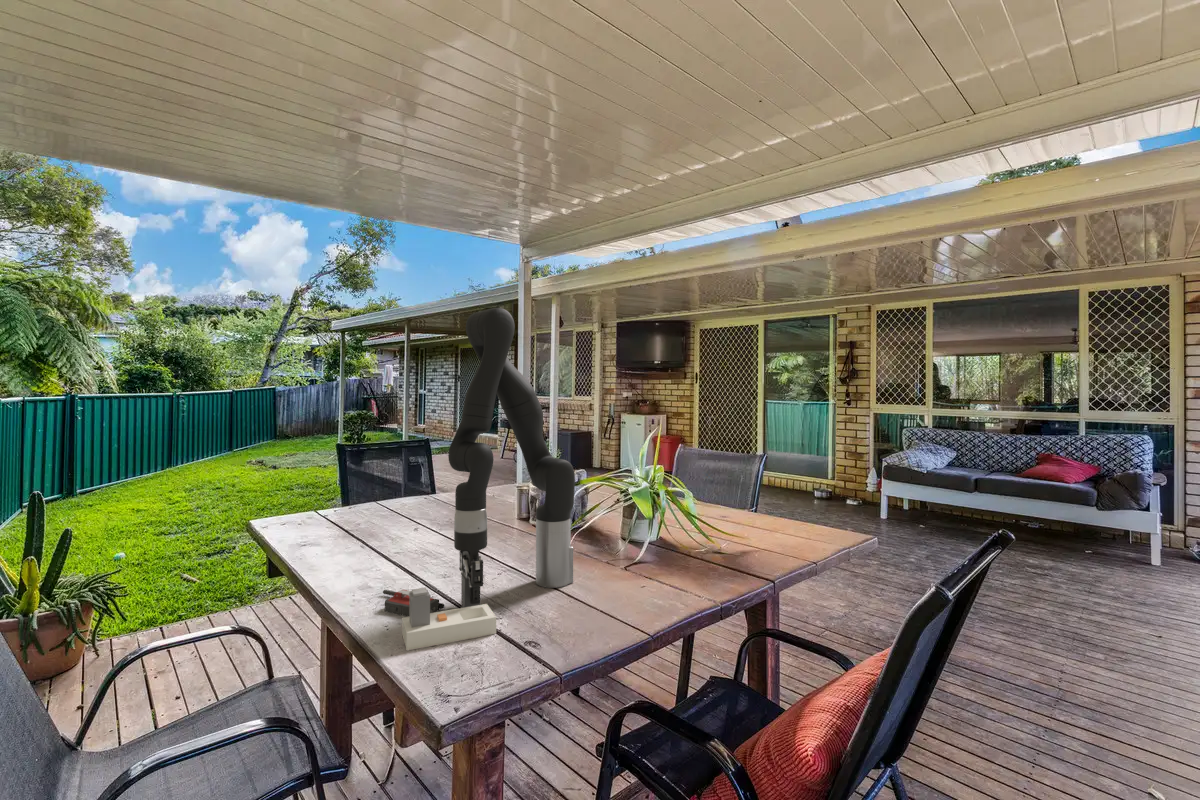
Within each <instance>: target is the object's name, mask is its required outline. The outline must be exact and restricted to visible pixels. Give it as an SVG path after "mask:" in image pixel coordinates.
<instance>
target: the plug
mask: <svg viewBox="0 0 1200 800" xmlns="http://www.w3.org/2000/svg"><path fill="white" fill-rule="evenodd" d="M460 576H461V580H460V581H461V582H460V583H461V594H460V595H461V596H460V597H461V607H460V608H465V607H471V606H477V605H481V601H480V602H479V603H476V604H471V603H470V587H469V579H468V578H466V572H464V574H461V573H460ZM476 581H477V577H475V578H474V582H476Z"/></svg>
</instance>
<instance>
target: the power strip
mask: <svg viewBox="0 0 1200 800" xmlns="http://www.w3.org/2000/svg"><path fill="white" fill-rule="evenodd" d="M411 591H412V592H409V617H408V616H403V617H402V618H401V635H402V638H403V641H404V643H403V644H404V646H405V650H406V651H407V652H408V651H412V650H417V649H423V648H428V647H433V646H437V645H439V646H440V645H443V644H448V643H453V642H455V643H456V642H459V641H465V640H470V639H476V638H479V637H486V636H490V635H496V634H497V616H496V614H495V613H494V612H493V610H492V608H491V607H490V606H489V605H488V603H484V604H480V605H477V606H471V607H465V608H462V607H460V608H454V609H449V610H442V611H440V610H439V611H437V612H434V613H430V598H431V594H430V593H429V590H428V589H427V588H426V587H419V588H414V589H411Z"/></svg>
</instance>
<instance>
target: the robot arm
mask: <svg viewBox="0 0 1200 800" xmlns="http://www.w3.org/2000/svg"><path fill="white" fill-rule="evenodd" d="M515 325H516V324H515V321H514V318H513V316H512V315H511V313H510V311H508V310H507V309H504V308H502V307H493V308H488V309H484V310H480V311H477V312H473V313H471V314H470V315H469V316H468V318H467V319H466V323H465V332H466V333H465V334H466V335H467V339H468V341H469V343H470V345H471V347H472V348H473V350H474V352H475V354H476V356H477V357H478V359H479V360H480V363H479V366H478V368H477V370H476V372H475V374H474V376H473V378H472V380H471V382H470V384H469V385H468V386H469V387H468V388H467V391H466V394H465V397H464V403H463V408H462V415H461V421H460V424H459V426H458V427H457V429H456V431H455V434H454V437H453V438H452V441H451V444H450V446H449V449H448V462H449V465H450V467H451V469H453V470H454V471H457V472H460V473H461V472H463V473H469V476H468V478H467V481H465V482H463V481H462V482H460V483H458V484H457V486H456V487H455V492H454V493H455V495H454V496H455V500H454V501H455V502H454V503H455V511H454V517H453V518H454V520H453V522H454V523H453V524H454V525H453V527H454V529H453V531H454V532H453V533H454V534H453V535H454V537H453V541H454V542H453V543H454V544H453V546H454V549H455V550H456V551H459V571H460V575H461V574H464V572H466V578H468V579H469V587H470V603H471V604H476V603H479V602H480V603H481V587H483V586H484V560H483V559H482V556H481V555H480V554H479V552H480V551H481V550H484V549H486V548H487V547H488V512H487V490H488V485H489V482H490V478H491V477H490V476H491V475H492V469H493V467H494V453H493V450H492V449H491V447H490V446H489V445H488V444H487V443H485V442H476V441H477V438H478V437H479V436H480V435H482V434H485V433H488V432H490V430H491V428H492V423H493V416H494V411H495V403H496V398H498V400H499V402H500V405H501V408H502V411H503V412H504V414H505V416H506V417H505V418H506V420H507V421H508V423H509V425H510V427H511V429H512V432H513V435H514V437H515V439H516V441H517V443H518V445H519V448H520V451H521V454H522V457H523V459H524V462H525V465H526V468H527V469H526V470H527V472H528V474H529V478H530V481H531V482H532V484H533V485H534V487H536V488H537V489H538V490H541V491H543V492H545V498H544V503H543V504H541V505H538V507H536V510H535V583H536V585H537V586H539V587H543V588H553V589H554V588H561V587H566V586H567V585H569V584H573V583H574V547H573V546H572V545H571V528H572V527H571V523H572V522H571V521H572V519H571V518H572V517H571V513H572V510H573V509H574V508H573V507H574V505H575V503H574V502H575V488H576V487H575V485H576V476H575V470H574V466H573V465H572V463H571V462H569V461H568V460H566V459H562V458H557V457H554V456H552V454H551V452H550V451H549V448H548V446H547V443H546V442H545V439H544V434H543V432H544V431H543V429H544V428H543V427H544V426H543V425H544V414H543V408H542V405H541V403H540V399H539V398H538V396H537V393H536V391H535V388H534V387H533V386H532V384H531V382H530V381H529V380H528V379H527V378H526V377H525V376H524V374H522V373H521V372H520V371H519V370H518V368H517V367H516V366H514V364H513V363H512V362H511V361H510V359H509V358H508V355H509V352H510V349H511V345H512V343H513V339H514V336H515V330H516V329H515V328H516V327H515ZM475 577H477V581H476V582H474V578H475Z"/></svg>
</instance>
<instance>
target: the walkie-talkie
mask: <svg viewBox="0 0 1200 800" xmlns="http://www.w3.org/2000/svg"><path fill="white" fill-rule="evenodd" d="M409 592H412V590H407V589H401V590H398V591H393V590H388V589H384V590H383V591H382V594H383V595H388V596H391V597H388V598H387V599H386V600H385V601H384V612H385V613H389V614H394V615H399V616H403V617H409ZM444 608H445V604H444V603H441V602H440V599H438V598H435V597H434V598H433V597H430V613H434V612H440V610H442V609H444Z"/></svg>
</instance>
